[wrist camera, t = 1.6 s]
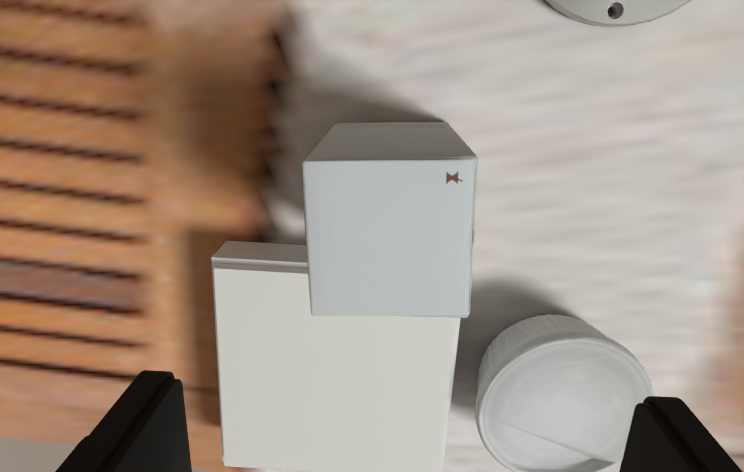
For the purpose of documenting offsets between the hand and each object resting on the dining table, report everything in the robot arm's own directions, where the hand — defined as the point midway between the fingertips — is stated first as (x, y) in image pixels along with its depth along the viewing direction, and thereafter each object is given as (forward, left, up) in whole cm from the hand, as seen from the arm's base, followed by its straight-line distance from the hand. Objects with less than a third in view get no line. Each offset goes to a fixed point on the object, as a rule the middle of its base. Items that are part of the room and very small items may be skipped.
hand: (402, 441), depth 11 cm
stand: (+13, -3, -24) cm, 28 cm away
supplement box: (0, 0, -24) cm, 24 cm away
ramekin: (+13, +12, -25) cm, 30 cm away
